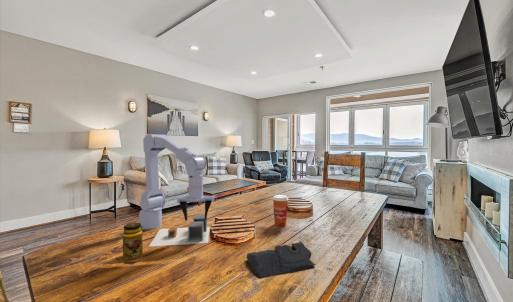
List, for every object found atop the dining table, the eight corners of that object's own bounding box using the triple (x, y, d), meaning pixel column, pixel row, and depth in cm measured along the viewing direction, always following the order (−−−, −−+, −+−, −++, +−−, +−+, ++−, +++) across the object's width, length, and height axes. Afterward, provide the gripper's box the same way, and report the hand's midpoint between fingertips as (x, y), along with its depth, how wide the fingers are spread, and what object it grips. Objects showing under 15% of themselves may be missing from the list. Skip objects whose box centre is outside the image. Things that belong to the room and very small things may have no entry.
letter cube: (168, 237, 97) (168, 230, 96) (169, 234, 100) (169, 227, 100) (175, 237, 97) (175, 230, 97) (176, 234, 100) (176, 227, 100)
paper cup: (270, 226, 113) (270, 197, 112) (275, 221, 120) (275, 194, 120) (286, 228, 110) (286, 198, 110) (290, 223, 117) (290, 195, 117)
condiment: (132, 265, 77) (132, 229, 77) (112, 261, 80) (112, 226, 79) (149, 254, 84) (148, 221, 84) (130, 251, 87) (129, 219, 86)
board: (148, 249, 88) (148, 246, 88) (160, 231, 106) (160, 228, 106) (208, 245, 92) (208, 242, 92) (209, 228, 110) (209, 226, 110)
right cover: (193, 232, 102) (193, 218, 102) (194, 227, 108) (194, 214, 108) (206, 231, 103) (206, 218, 103) (207, 227, 109) (207, 214, 108)
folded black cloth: (242, 257, 83) (242, 244, 83) (296, 248, 91) (297, 236, 91) (257, 282, 69) (257, 266, 69) (320, 268, 76) (320, 254, 76)
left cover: (188, 241, 93) (188, 226, 93) (190, 235, 98) (190, 221, 98) (202, 240, 94) (202, 225, 93) (203, 235, 99) (203, 221, 99)
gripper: (175, 188, 90) (175, 223, 91) (213, 187, 92) (213, 221, 93) (178, 185, 97) (178, 217, 98) (214, 184, 99) (214, 216, 100)
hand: (196, 219), depth 96 cm, fingers open, 7 cm apart
